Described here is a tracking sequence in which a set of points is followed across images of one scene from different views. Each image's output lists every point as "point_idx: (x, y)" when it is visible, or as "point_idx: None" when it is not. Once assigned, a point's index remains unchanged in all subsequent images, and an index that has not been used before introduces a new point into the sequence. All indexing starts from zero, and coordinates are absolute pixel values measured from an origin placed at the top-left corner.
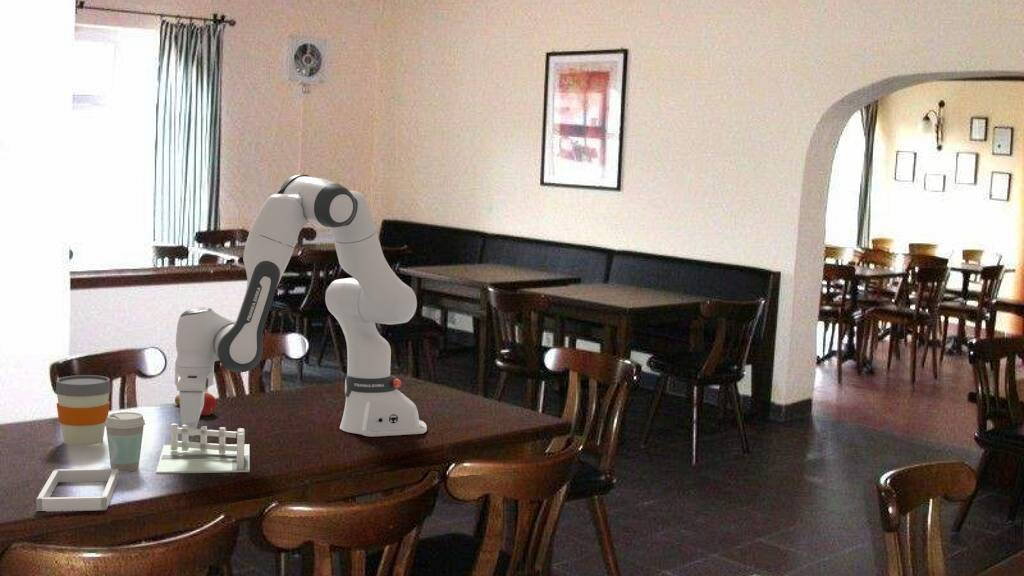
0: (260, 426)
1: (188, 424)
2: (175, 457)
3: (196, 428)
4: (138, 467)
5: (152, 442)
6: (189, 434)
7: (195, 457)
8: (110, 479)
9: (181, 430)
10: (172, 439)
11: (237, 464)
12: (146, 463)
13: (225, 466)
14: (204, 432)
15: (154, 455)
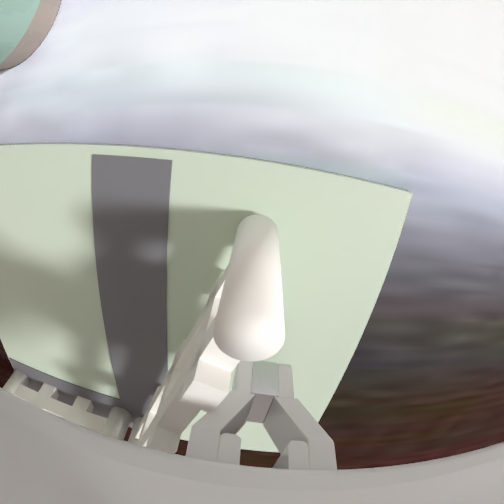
0: (469, 444)
1: (205, 415)
2: (112, 224)
3: (256, 418)
4: (6, 68)
5: (496, 157)
6: (238, 364)
7: (114, 306)
8: None
9: (203, 346)
10: (232, 251)
11: (9, 378)
12: (71, 84)
13: (32, 357)
14: (153, 425)
15: (224, 115)
